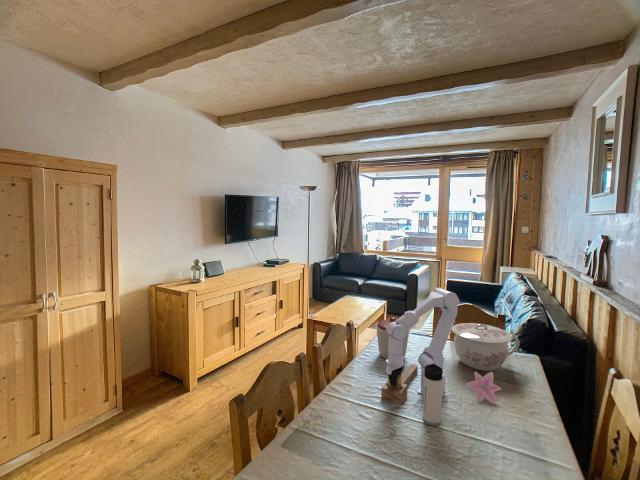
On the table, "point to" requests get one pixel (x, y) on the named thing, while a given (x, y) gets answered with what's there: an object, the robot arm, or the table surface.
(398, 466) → the table surface
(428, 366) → the travel mug
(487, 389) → the lily
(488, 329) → the chamber pot
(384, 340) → the canister
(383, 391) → the post
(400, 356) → the robot arm
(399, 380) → the tan square peg
